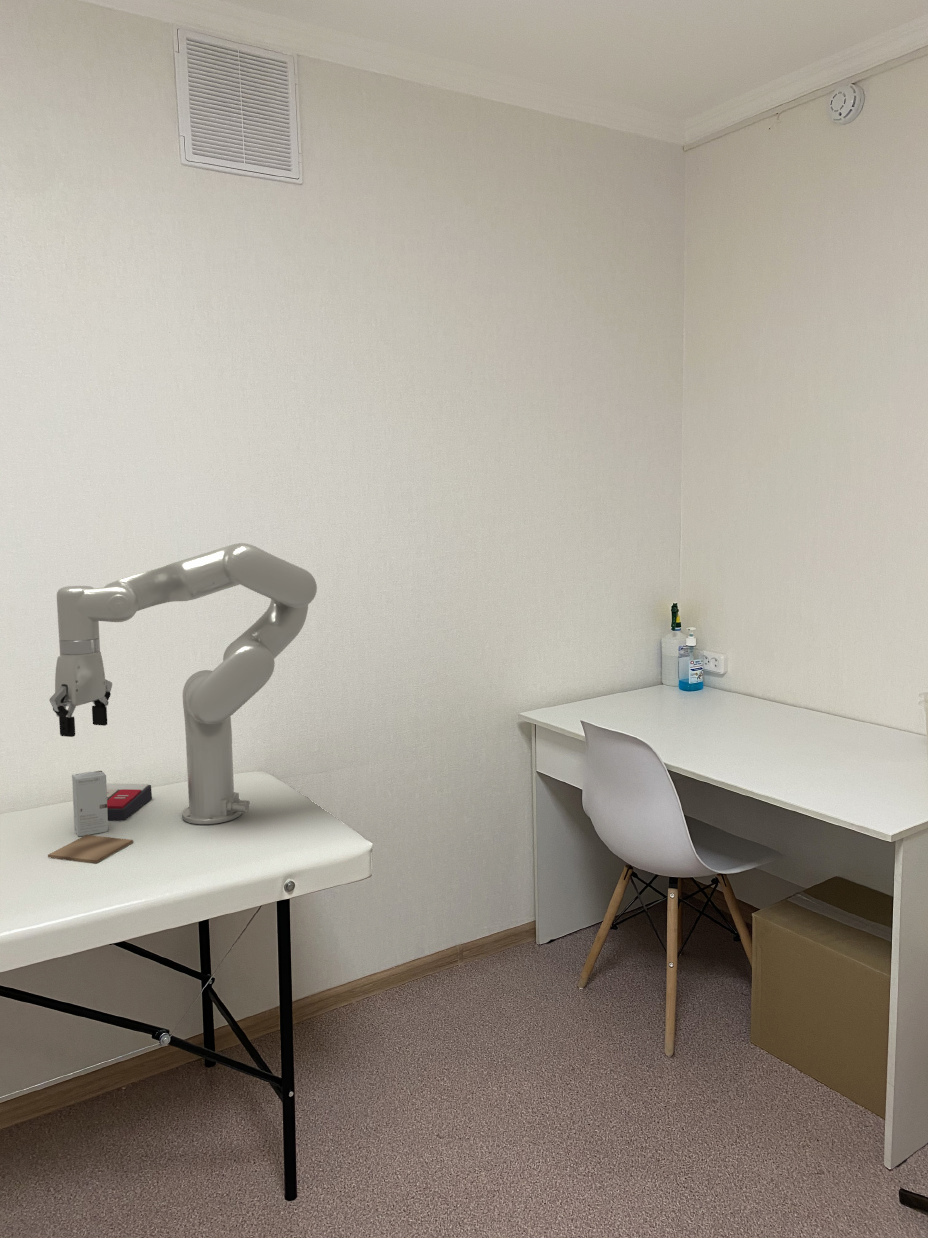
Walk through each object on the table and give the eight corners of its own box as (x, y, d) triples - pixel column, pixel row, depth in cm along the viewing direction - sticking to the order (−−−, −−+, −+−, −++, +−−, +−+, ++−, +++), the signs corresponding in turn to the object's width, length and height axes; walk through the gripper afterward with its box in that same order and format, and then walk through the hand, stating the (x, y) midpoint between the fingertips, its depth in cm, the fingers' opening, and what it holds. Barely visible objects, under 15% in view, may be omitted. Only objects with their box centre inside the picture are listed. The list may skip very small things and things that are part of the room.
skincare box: (78, 837, 186) (74, 779, 185) (73, 831, 190) (70, 774, 188) (110, 831, 190) (106, 774, 188) (105, 825, 193) (101, 769, 192)
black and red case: (73, 805, 196) (104, 780, 211) (75, 824, 197) (106, 798, 211) (123, 806, 195) (151, 781, 210) (125, 825, 196) (152, 799, 211)
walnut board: (133, 842, 183) (133, 840, 183) (96, 863, 172) (96, 860, 172) (86, 837, 186) (86, 834, 186) (48, 857, 176) (47, 854, 176)
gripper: (92, 640, 194) (96, 719, 196) (33, 653, 178) (38, 739, 180) (123, 642, 192) (126, 722, 194) (65, 654, 176) (70, 742, 178)
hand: (84, 730), depth 187 cm, fingers open, 9 cm apart
